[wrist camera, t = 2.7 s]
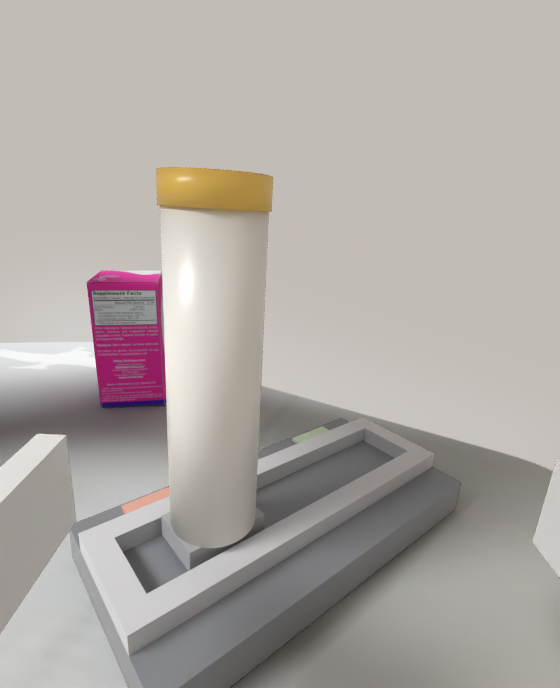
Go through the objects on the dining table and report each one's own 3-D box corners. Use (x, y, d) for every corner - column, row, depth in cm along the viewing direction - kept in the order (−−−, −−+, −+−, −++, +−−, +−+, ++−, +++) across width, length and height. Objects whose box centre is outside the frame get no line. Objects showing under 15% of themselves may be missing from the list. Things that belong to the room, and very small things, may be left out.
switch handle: (195, 585, 17) (192, 165, 12) (153, 526, 20) (137, 169, 15) (273, 540, 20) (296, 178, 15) (226, 494, 23) (232, 179, 18)
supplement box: (109, 382, 42) (100, 268, 38) (170, 381, 43) (166, 270, 40) (96, 409, 36) (85, 278, 33) (166, 406, 38) (162, 280, 34)
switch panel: (154, 747, 14) (150, 685, 13) (72, 557, 21) (66, 508, 20) (455, 509, 26) (464, 468, 25) (339, 440, 34) (342, 406, 33)
